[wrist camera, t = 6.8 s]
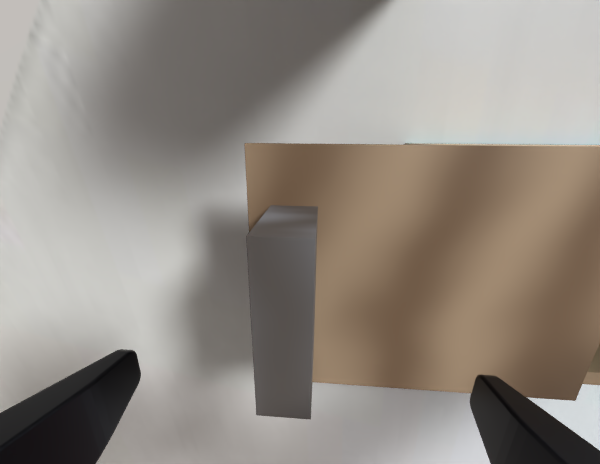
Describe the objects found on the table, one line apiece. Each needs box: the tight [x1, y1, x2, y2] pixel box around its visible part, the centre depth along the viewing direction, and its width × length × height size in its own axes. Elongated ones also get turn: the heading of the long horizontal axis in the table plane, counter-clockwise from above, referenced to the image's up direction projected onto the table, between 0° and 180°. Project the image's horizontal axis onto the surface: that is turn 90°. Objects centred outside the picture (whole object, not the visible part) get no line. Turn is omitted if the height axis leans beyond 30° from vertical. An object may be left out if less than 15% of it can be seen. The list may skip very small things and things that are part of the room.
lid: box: [245, 143, 600, 419], centre depth 11 cm, size 16×12×5 cm
